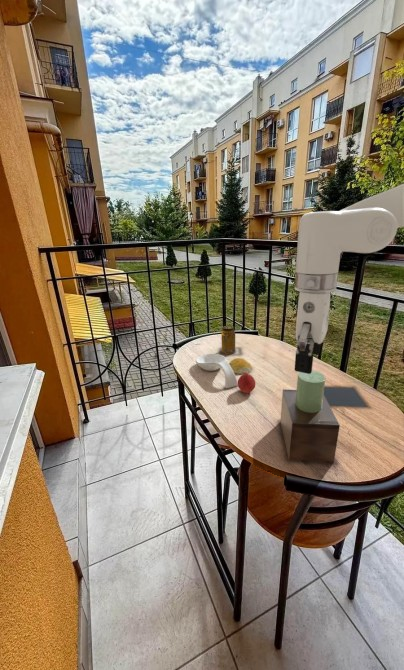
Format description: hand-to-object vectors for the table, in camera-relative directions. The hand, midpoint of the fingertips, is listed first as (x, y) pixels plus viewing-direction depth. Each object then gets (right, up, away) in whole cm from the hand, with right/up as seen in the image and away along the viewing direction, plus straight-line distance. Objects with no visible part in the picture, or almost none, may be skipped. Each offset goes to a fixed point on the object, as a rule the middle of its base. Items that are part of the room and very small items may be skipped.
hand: (307, 362), depth 60 cm
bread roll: (-8, -8, +50) cm, 51 cm away
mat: (+22, -14, +29) cm, 39 cm away
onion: (-8, -14, +34) cm, 38 cm away
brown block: (+4, -22, +12) cm, 25 cm away
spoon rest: (-17, -9, +47) cm, 51 cm away
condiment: (-10, -2, +65) cm, 66 cm away
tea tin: (+3, -11, +8) cm, 14 cm away
